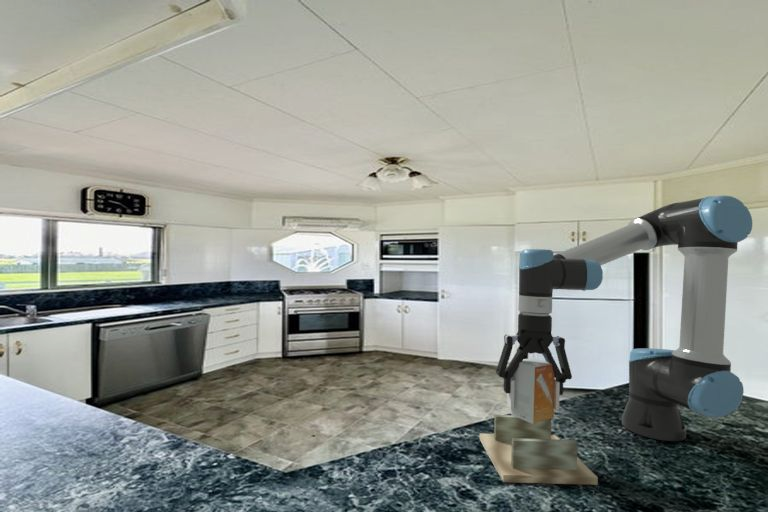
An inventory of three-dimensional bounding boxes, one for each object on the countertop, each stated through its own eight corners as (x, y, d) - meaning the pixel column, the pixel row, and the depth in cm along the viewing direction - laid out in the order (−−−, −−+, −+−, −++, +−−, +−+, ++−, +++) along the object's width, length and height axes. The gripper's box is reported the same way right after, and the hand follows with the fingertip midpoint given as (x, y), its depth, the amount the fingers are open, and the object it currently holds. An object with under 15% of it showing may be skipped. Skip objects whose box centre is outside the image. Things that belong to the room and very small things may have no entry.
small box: (533, 424, 87) (534, 366, 87) (510, 415, 92) (511, 360, 92) (554, 418, 91) (556, 362, 91) (531, 409, 96) (532, 356, 97)
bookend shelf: (555, 441, 101) (555, 412, 101) (597, 484, 81) (598, 448, 81) (479, 439, 101) (480, 410, 101) (503, 482, 81) (503, 446, 81)
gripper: (492, 314, 88) (489, 411, 88) (590, 317, 88) (588, 415, 88) (483, 310, 96) (481, 400, 95) (574, 313, 96) (572, 403, 95)
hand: (532, 407), depth 92 cm, fingers closed on small box, 10 cm apart
